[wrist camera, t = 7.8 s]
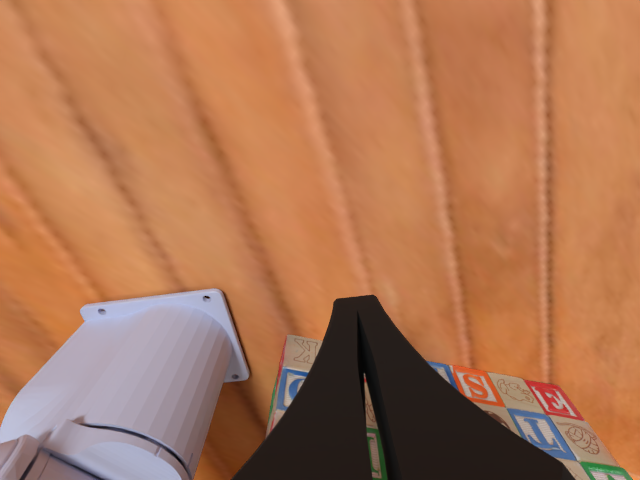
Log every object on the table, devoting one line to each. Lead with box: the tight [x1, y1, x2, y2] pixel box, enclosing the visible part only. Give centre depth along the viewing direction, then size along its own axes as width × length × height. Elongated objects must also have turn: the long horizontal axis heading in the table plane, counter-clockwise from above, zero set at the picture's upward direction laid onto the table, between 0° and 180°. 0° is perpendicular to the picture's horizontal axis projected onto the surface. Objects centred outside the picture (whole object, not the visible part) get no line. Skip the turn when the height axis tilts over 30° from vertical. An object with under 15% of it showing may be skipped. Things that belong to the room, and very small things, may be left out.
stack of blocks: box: [265, 335, 633, 480], centre depth 21 cm, size 21×6×12 cm, turn 77°
